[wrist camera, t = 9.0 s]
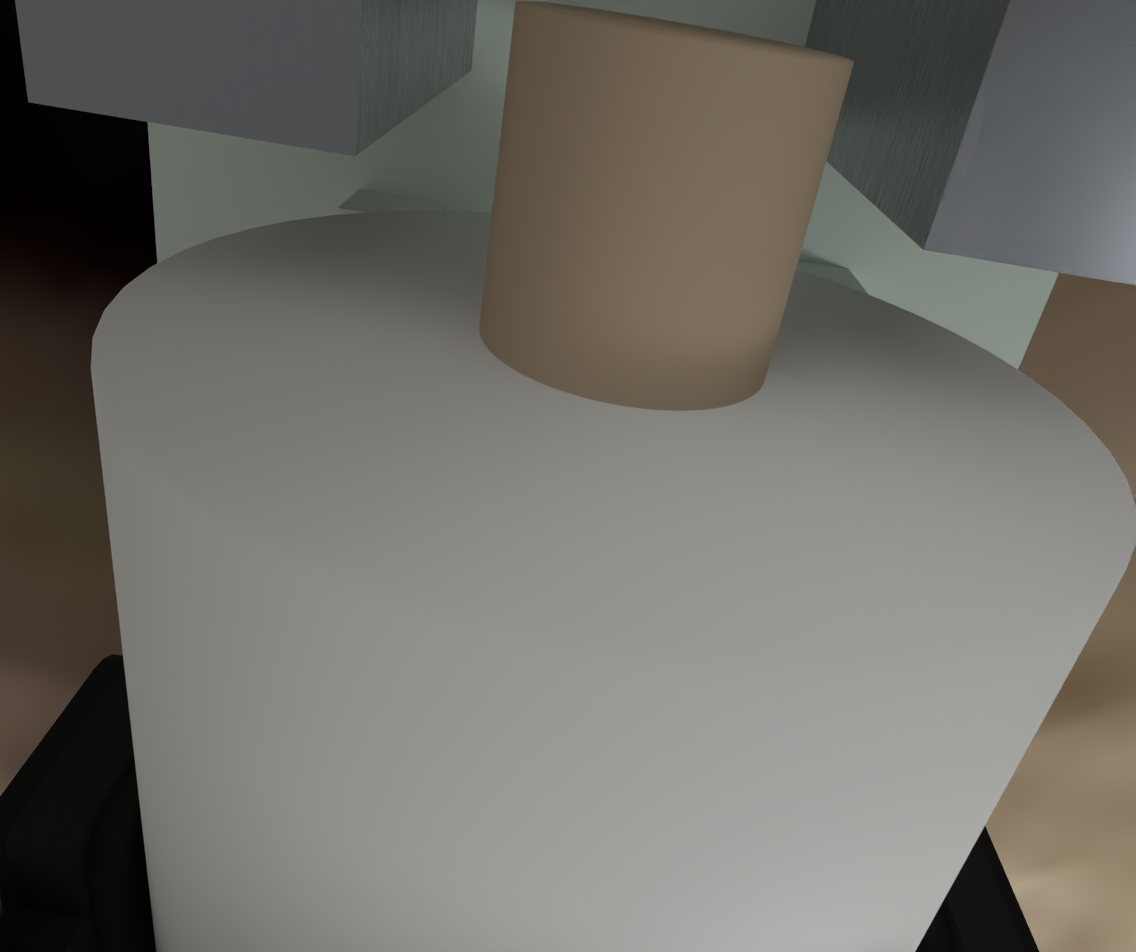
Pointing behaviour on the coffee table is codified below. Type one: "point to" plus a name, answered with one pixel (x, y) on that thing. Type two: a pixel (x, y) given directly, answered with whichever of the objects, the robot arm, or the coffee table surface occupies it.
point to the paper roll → (583, 545)
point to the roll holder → (731, 3)
